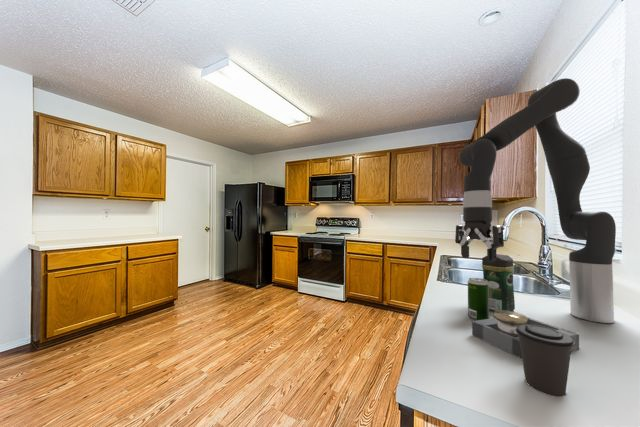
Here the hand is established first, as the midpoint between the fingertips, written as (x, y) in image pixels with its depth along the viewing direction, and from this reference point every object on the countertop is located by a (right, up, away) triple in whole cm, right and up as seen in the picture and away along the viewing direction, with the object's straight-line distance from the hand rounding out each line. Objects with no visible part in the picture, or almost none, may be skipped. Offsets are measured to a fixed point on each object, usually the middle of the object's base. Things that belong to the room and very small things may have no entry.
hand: (477, 259), depth 76 cm
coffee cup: (-8, -17, -32) cm, 37 cm away
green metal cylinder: (0, -18, -1) cm, 18 cm away
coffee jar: (+13, -19, +9) cm, 24 cm away
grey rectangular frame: (+2, -18, -15) cm, 23 cm away
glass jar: (-2, -17, -16) cm, 24 cm away
